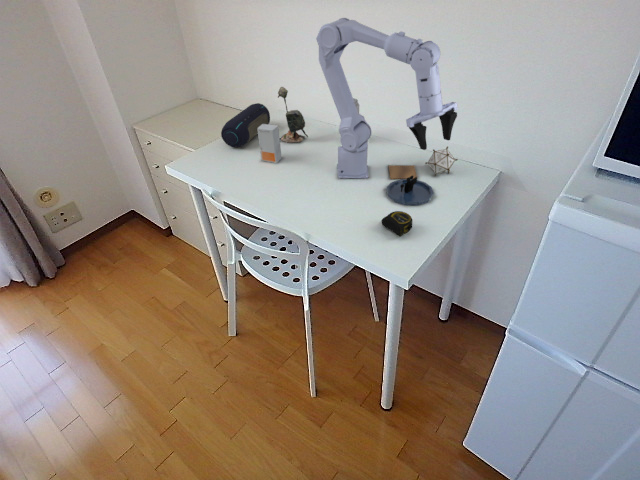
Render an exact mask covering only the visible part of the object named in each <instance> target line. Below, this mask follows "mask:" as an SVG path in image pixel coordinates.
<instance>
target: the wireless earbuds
mask: <svg viewBox="0 0 640 480" xmlns="http://www.w3.org/2000/svg"><path fill="white" fill-rule="evenodd" d="M413 177H414V176H413V175H412V176H410V177H408V178H407V179H406V181H407V183H405V187H404V184H401V185H400V187H401V192H402V190H403V187H404V192H405V193H408V192H410V191H412V190H413V186H414V184H415V183H416V182H417V180H418V176H417V177H415V178H414V179H413ZM410 179H413V180H411V181H410Z"/></svg>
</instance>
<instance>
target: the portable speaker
mask: <svg viewBox="0 0 640 480" xmlns="http://www.w3.org/2000/svg"><path fill="white" fill-rule="evenodd" d="M270 121H271V114H270V111H269V109H268V107H266V106H265V104H262V103H260V102H257V103H252V104H250V105H248V106H247V107H245V108H244V109H243V110H242V111H240V112H239V113H237V114H236V115H234V116H233V117H231V118H230V119H229V120H228V121H226V122H225V124H224V125H223V126H222V128H221V132H220V136H221V139H222V141H223V142H224V144H226V145H227V146H229V147H231V148H241V147H243V146H245V145H247V144H248V143H249V142H250V141H251V140H252V139H254V138H255V137H256V136H258V130H257V128H258V127H259V126H261V125H262V124H270Z"/></svg>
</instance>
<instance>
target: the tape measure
mask: <svg viewBox="0 0 640 480" xmlns="http://www.w3.org/2000/svg"><path fill="white" fill-rule="evenodd" d="M381 225H382V226H383V227H384V228H385V229H387V230H389V231H390V232H391V233H393V234H394V235H396V236H397V237H399V238H400V237H402V236H404V234H407V233H408V232H410V230H411V229H412V228H413V218H412V216H411V215H410V214H409V213H408V212H405V211H402V210H396V211H392V212H390V213H388V214H387V215H386V216H384V217H382V219H381Z"/></svg>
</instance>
